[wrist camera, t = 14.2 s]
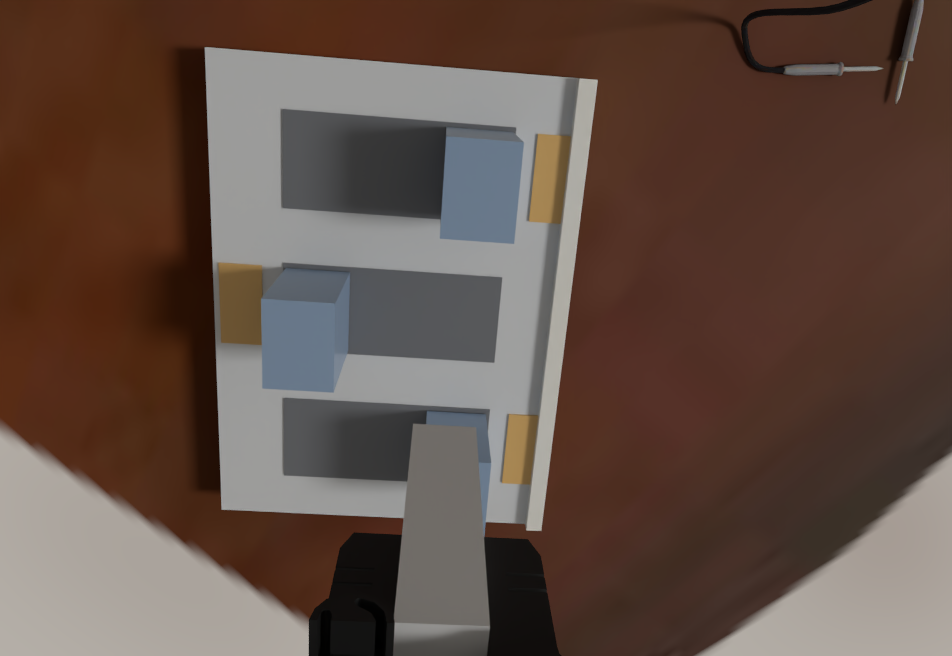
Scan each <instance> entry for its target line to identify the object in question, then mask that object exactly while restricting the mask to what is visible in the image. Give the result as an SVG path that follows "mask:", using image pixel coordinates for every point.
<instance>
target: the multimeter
mask: <svg viewBox="0 0 952 656" xmlns="http://www.w3.org/2000/svg"><path fill="white" fill-rule="evenodd" d="M869 1H872V0H848V1H845V2H842V3H839V4H835V5H830V6H826V7H815V8H791V9H767V10H760V11H755V12H753V13H751V14H749V15H748V16H747V17H746V18H745V19H744V20H743V23H742V26H741V31H742V40H743V46H744V51H745V54H746V57H747V59H748V61H749V62H750V64H751V65H752V66H753V67H755V68H756V69H758V70H760V71H764V72H774V73H783V74H787V75H837V76H841V75H842V73H843V71H875V70H879V69H883V68H880V67H875V66H869V67H844V65H843V63H842V62H840V63H838V64H799V65H790V66H785V67H783V68H775V67H766V66H763V65H761V64H759V63H758V62H756V61H755V59H754V58H753V56H752V53H751V51H750V46H749V41H748V34H747V26H748V23H749V21H751V20H752V19H754V18H757V17H762V16H773V15H820V14H830V13H835V12H840V11H844V10H847V9H850V8H853V7H856V6H859V5H862V4H864V3H867V2H869ZM923 2H924V0H915V1H914V4H913V6H912V9H911V13H910V17H909V22H908V26H907V31H906V35H905V40H904V44H903V49H902V53H901V56H900V58H899V61H903V64H902V69H901V73H900V78H899V82H898V87H897V91H896V96H895V103H896V104H897V102H898V99H899V97H900V94H901V89H902V85H903V81H904V76H905V72H906V67H907V63H908V61H913V52H914V47H915V43H916V39H917V34H918V30H919V25H920V21H921V16H922V12H923Z"/></svg>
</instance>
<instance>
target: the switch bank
mask: <svg viewBox="0 0 952 656" xmlns="http://www.w3.org/2000/svg"><path fill="white" fill-rule="evenodd" d="M205 67H206V95H207V122H208V149H209V176H210V204H211V231H212V258H213V286H214V313H215V340H216V367H217V395H218V422H219V449H220V476H221V504H222V510H244V511H265V512H286V513H307V514H329V515H350V516H371V517H392V518H404V510H405V500H406V490H407V480H408V470H409V460H410V450H411V440H412V430H413V424H426V418H427V411H437V412H455V413H473V414H486V420H487V429H488V438H489V447H490V456H491V472H490V482H489V493H488V503H487V513H486V522H499V523H520V524H525V526H526V530H533V531H541V528H542V520H543V512H544V504H545V496H546V488H547V480H548V472H549V464H550V456H551V448H552V440H553V432H554V424H555V416H556V408H557V400H558V392H559V384H560V376H561V368H562V361H563V353H564V345H565V337H566V329H567V321H568V313H569V305H570V297H571V289H572V281H573V273H574V265H575V257H576V249H577V241H578V233H579V225H580V217H581V209H582V201H583V193H584V185H585V178H586V170H587V162H588V154H589V146H590V138H591V130H592V122H593V114H594V106H595V98H596V90H597V82H598V80H592V79H580V78H567V77H556V76H544V75H532V74H520V73H508V72H496V71H484V70H472V69H460V68H448V67H437V66H425V65H413V64H401V63H389V62H377V61H365V60H353V59H341V58H329V57H318V56H306V55H294V54H282V53H270V52H258V51H246V50H234V49H222V48H210V47H205ZM446 127H456V128H468V129H481V130H494V131H506V132H514V133H515V134H516V135H517V136H518V137H519V138H520V139H521V140H522V141H523V142H524V148H523V158H522V169H521V179H520V189H519V199H518V210H517V220H516V230H515V240H514V244H508V243H494V242H479V241H465V240H451V239H440V221H441V204H442V188H443V173H444V157H445V141H446ZM286 268H295V269H310V270H325V271H340V272H350V297H349V337H348V353H347V356H346V359H345V361H344V364H343V367H342V370H341V373H340V376H339V378H338V381H337V384H336V387H335V390H334V393H330V392H313V391H295V390H278V389H262V328H261V298H262V297H263V296H264V295H265V293H266V292H267V291H268V290H269V288H270V287H271V286H272V285H273V283H274V282H275V281H276V280H277V278H278V277H279V276H280V275H281V274H282V272H283V271H284V270H285V269H286Z"/></svg>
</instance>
